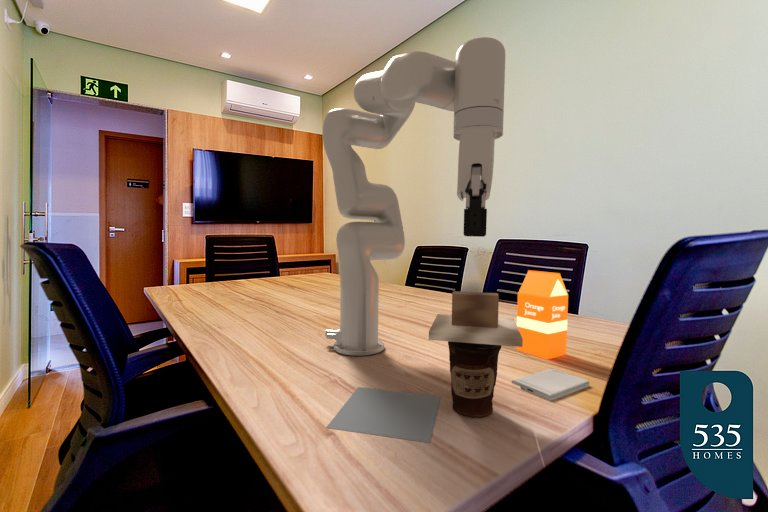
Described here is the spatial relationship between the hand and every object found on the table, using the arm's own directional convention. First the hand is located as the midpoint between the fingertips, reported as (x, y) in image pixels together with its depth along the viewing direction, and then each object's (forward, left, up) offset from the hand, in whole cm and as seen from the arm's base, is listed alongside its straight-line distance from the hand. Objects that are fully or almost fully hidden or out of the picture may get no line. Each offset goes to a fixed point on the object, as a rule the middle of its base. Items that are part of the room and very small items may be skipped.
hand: (474, 236), depth 58 cm
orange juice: (+16, +36, -29) cm, 49 cm away
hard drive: (+15, +14, -29) cm, 36 cm away
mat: (-13, -5, -28) cm, 31 cm away
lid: (0, -1, -15) cm, 15 cm away
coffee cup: (0, -1, -29) cm, 29 cm away
